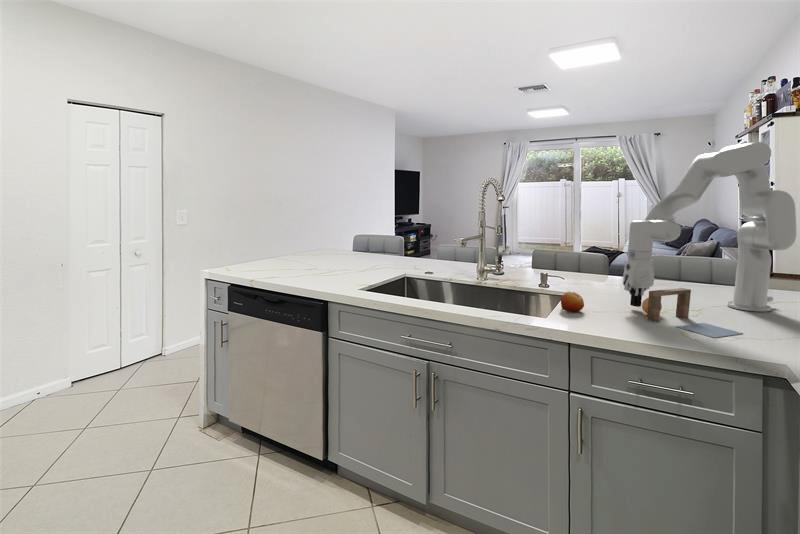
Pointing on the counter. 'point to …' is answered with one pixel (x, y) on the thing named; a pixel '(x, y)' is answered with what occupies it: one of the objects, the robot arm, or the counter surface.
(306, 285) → the counter surface
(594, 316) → the counter surface
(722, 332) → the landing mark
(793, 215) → the robot arm
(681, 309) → the bridge
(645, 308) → the ball
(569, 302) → the fruit
